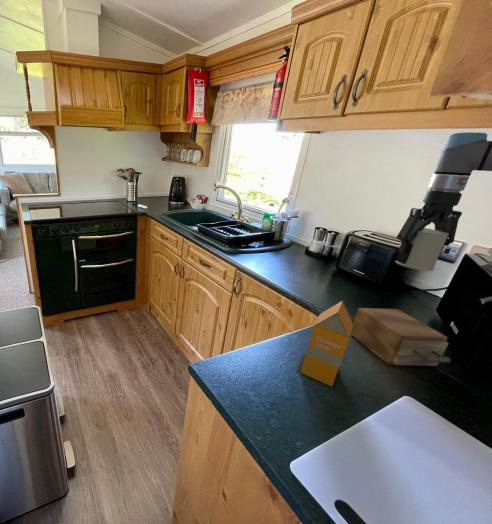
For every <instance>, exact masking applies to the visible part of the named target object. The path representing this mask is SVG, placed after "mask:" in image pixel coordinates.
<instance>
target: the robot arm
mask: <svg viewBox="0 0 492 524" xmlns="http://www.w3.org/2000/svg"><path fill="white" fill-rule="evenodd" d="M437 161H438V162H437V164H436V166H435V169H434V172H433V174H432V176H431V178H430V182H429V184H428V186H427V187H428V189H429V190H426V192H425V194H424V197H423V199H422V202H423V203H424V204H423V206H421V208H415V207H412V208H411V209H410V212H409V216H407V218H406V220H405V221H404V223H403V225H402V227H401V229H400V230H399V232H398V234H397V235H396V239H397V240H399V241H401V243H400V246H399V247H398V255H397V257H396V260H395V262H396V261H398V262H400V263H403V264H406V262H407V259H408V257H409V254H410V252H411V249H412V247H413V244H412V243H411V242H412V241H413V240H414V239H415V238H416V237H417V234H418V231H422V230H423V229H424V228H427V226H429V225H431V224H433V225H434V230H435V231H436V230H439V231H442V232H446V233H448V234H449V235H448V237H447V239H446V241H445V243H444V245H443V247H442V250H441V252H440V254H439V256H440V255H441V254H442V252H443V250H444V248H445V246H446V247H449V246H450V244H453V243H454V242H455V238H456V234H457V229H458V225H459V220H460V218H461V217H462V215H463V212H462V211H459V210H454V207H457V206H458V205H459V203H460V201H461V198H462V196H463V194H462V192H463V191H465V188H466V186H467V185H468V184H467V183H468V181H469V178H470V177H471V175H472V172H473V171H477V172H478V171H479V172H492V140H488V133H486V132H456V133H453V134H451V135H450V136H448V138H447V140H446V142H445V144H444V146H443V148H442V150H441V152H440V155H439V159H438V160H437ZM408 238H409V239H408Z"/></svg>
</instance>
